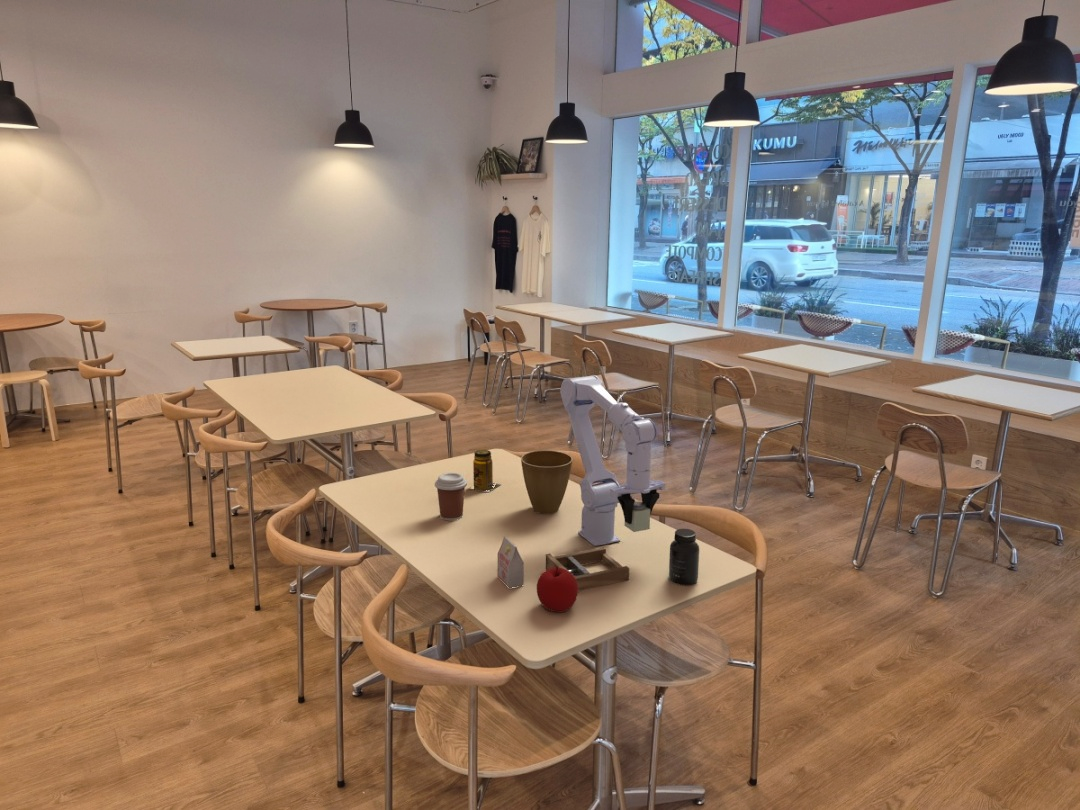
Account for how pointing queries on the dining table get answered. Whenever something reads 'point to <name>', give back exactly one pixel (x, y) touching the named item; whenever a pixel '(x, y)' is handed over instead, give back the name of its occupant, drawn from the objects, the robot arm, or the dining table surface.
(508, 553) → the milk carton
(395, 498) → the dining table surface
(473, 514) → the dining table surface
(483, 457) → the condiment
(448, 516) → the coffee cup
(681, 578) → the supplement bottle
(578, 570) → the pusher plate
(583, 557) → the brown wooden shallow box
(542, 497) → the plant pot
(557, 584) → the apple
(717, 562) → the dining table surface
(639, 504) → the jar
